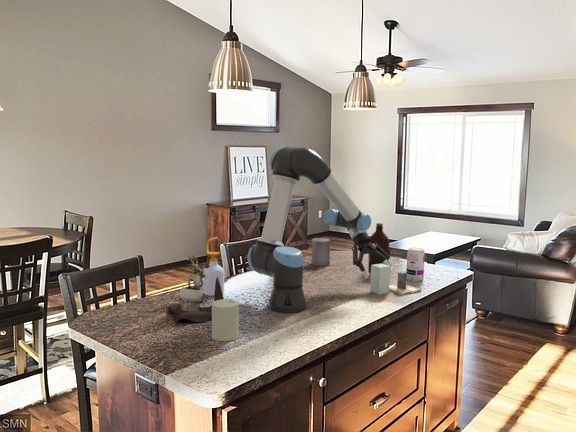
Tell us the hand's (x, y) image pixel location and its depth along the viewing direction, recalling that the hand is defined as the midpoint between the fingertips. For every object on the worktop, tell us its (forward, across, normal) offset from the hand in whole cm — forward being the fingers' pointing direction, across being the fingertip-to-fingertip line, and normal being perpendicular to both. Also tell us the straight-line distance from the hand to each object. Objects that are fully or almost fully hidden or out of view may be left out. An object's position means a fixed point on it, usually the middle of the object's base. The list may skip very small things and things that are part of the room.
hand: (379, 275), depth 232 cm
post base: (+8, -10, -2) cm, 13 cm away
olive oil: (-14, -22, -25) cm, 36 cm away
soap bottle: (-17, +66, -27) cm, 74 cm away
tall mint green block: (+6, +1, -4) cm, 7 cm away
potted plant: (-1, +82, -11) cm, 83 cm away
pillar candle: (-33, -6, -44) cm, 56 cm away
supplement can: (0, -29, -10) cm, 31 cm away
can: (+17, +83, +7) cm, 85 cm away
